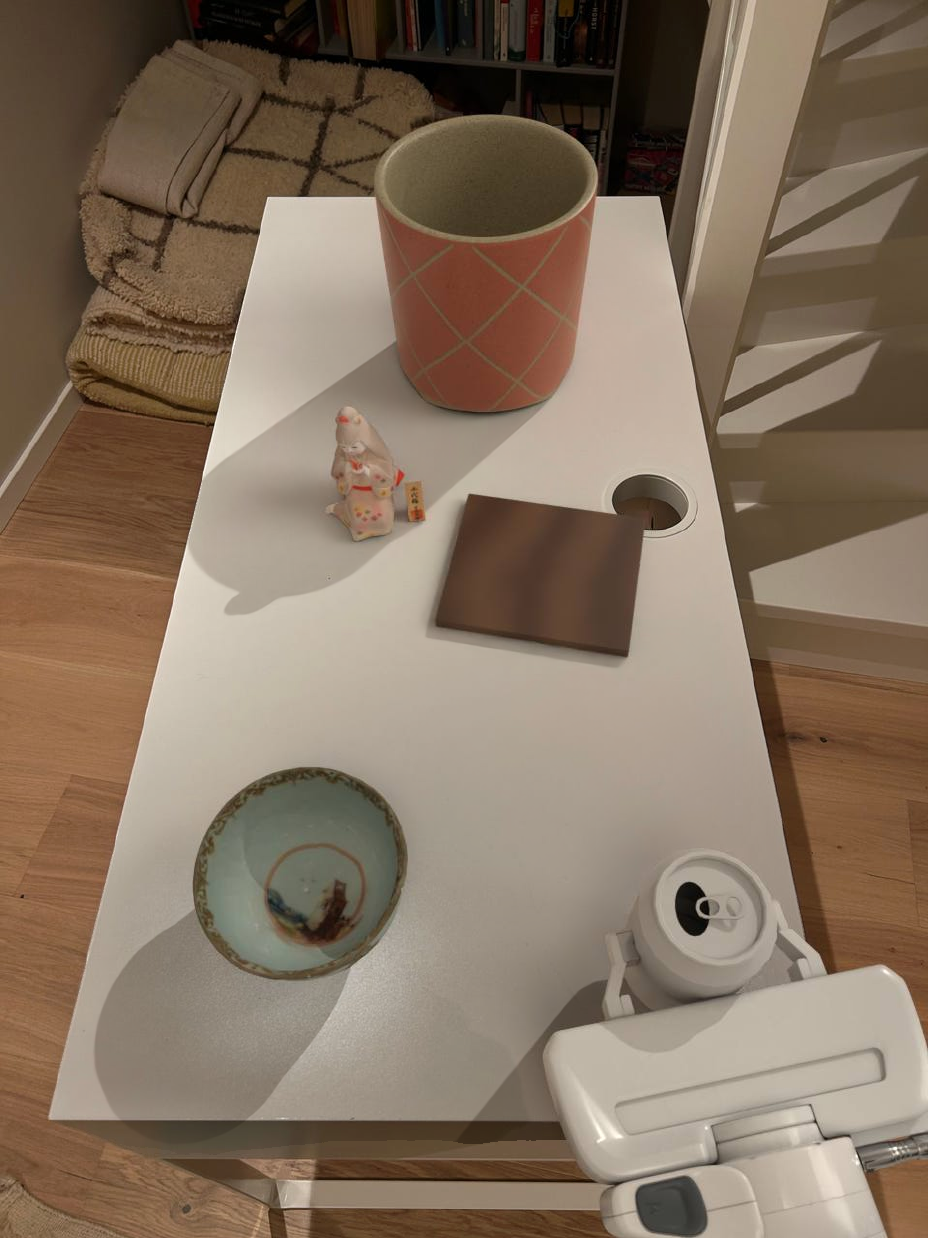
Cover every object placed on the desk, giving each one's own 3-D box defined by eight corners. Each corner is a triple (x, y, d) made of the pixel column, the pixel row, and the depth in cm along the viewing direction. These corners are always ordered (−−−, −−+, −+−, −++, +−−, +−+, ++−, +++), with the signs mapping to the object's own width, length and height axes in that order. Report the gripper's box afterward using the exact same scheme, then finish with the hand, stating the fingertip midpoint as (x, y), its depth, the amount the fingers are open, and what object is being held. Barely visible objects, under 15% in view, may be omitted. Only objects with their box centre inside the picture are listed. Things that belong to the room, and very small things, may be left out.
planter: (394, 302, 100) (374, 118, 83) (569, 294, 100) (585, 108, 83) (393, 429, 90) (371, 247, 73) (589, 420, 90) (611, 236, 73)
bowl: (398, 1019, 60) (387, 993, 54) (199, 993, 61) (164, 965, 55) (428, 820, 68) (421, 776, 61) (250, 801, 69) (224, 755, 62)
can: (613, 900, 61) (637, 835, 51) (728, 902, 61) (774, 838, 51) (620, 1021, 57) (647, 977, 47) (743, 1025, 57) (797, 981, 47)
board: (644, 525, 82) (645, 518, 82) (627, 657, 75) (629, 650, 74) (468, 500, 84) (468, 493, 84) (435, 626, 77) (435, 619, 76)
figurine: (322, 544, 82) (294, 434, 73) (331, 494, 86) (306, 385, 78) (423, 541, 81) (408, 429, 72) (427, 491, 86) (413, 380, 77)
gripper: (999, 1145, 44) (876, 867, 52) (586, 1238, 43) (522, 938, 50) (946, 1153, 50) (842, 900, 57) (576, 1236, 48) (519, 965, 56)
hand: (689, 918), depth 54 cm, fingers closed on can, 7 cm apart
